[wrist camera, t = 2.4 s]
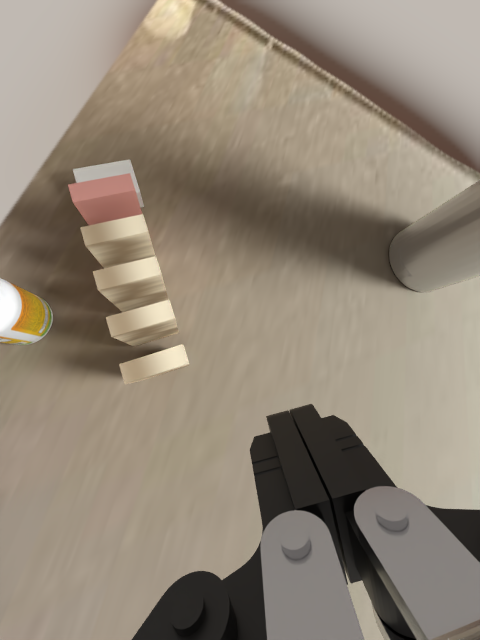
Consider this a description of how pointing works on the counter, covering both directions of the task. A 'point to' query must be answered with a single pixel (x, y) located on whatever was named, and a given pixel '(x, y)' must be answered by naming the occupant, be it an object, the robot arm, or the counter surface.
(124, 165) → the block
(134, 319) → the domino
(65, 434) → the counter surface
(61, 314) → the counter surface
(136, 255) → the domino
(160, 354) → the domino
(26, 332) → the supplement bottle
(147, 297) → the domino
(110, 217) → the domino
